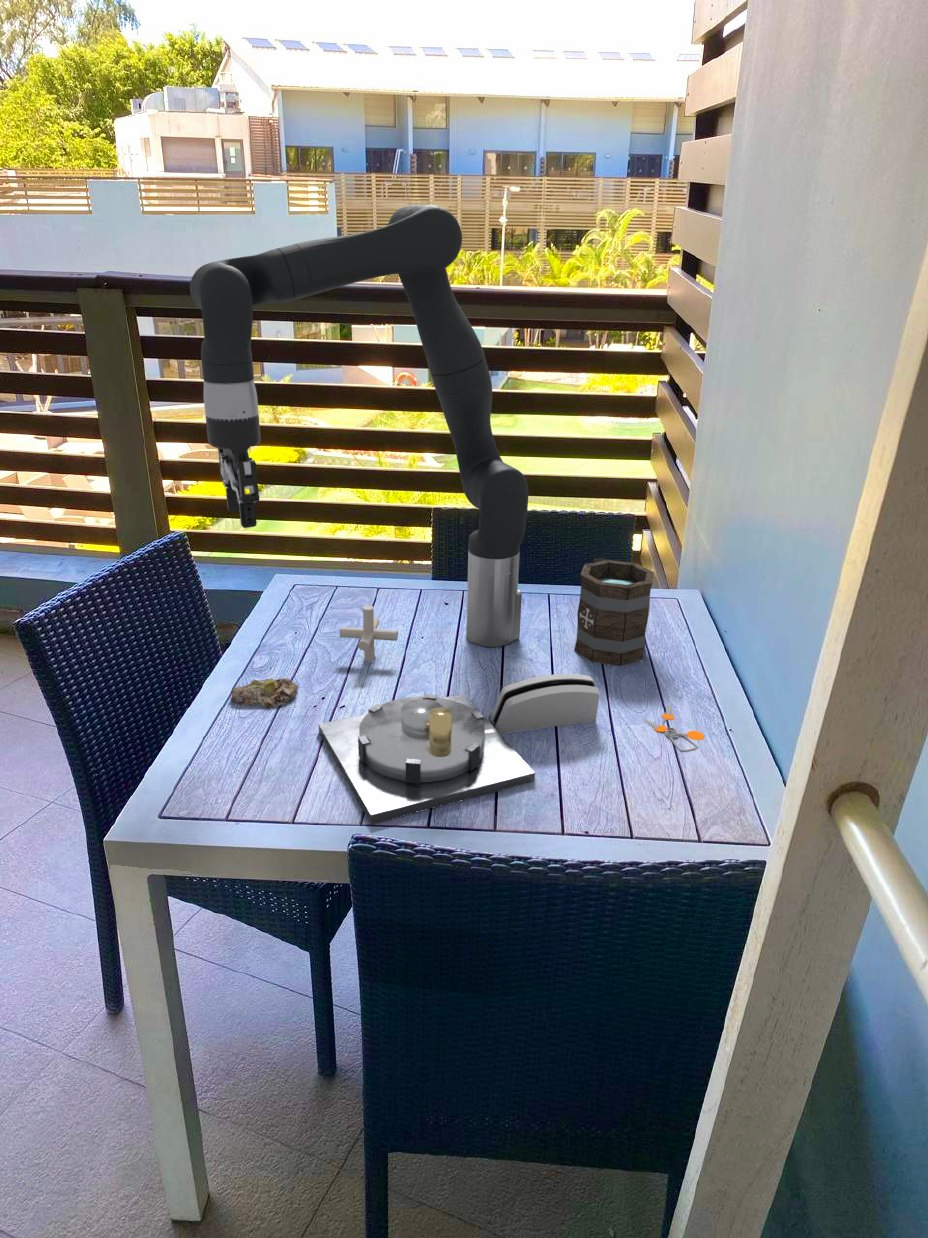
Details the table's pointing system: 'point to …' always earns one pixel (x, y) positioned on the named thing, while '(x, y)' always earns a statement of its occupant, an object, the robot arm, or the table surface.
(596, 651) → the mug
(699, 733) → the key chain
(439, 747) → the silver disc
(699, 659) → the table surface
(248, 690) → the mineral rock
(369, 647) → the pipe connector
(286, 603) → the table surface
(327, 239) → the robot arm
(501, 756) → the base plate
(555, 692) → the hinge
